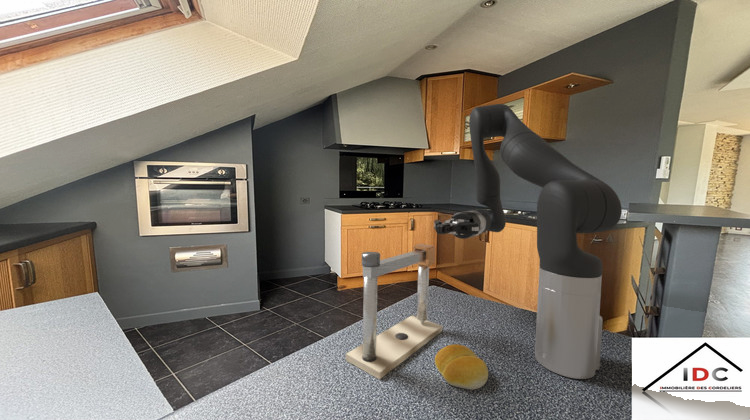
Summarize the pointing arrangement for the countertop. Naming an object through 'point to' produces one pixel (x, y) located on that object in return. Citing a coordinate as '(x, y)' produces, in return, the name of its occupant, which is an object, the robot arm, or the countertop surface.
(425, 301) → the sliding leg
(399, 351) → the plate
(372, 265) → the metal gantry frame
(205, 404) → the countertop surface
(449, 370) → the bread roll
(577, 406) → the countertop surface
